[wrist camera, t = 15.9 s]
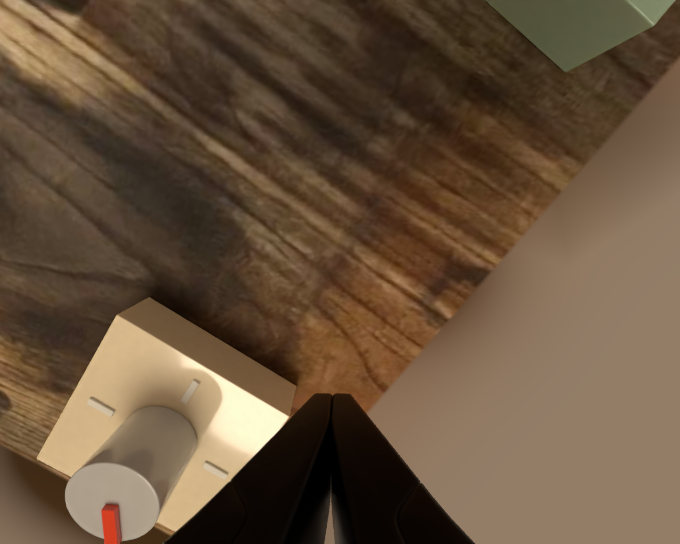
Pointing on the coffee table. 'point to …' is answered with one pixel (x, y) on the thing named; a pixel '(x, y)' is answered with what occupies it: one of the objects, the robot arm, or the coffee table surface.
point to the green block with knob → (579, 24)
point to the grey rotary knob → (132, 475)
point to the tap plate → (173, 401)
